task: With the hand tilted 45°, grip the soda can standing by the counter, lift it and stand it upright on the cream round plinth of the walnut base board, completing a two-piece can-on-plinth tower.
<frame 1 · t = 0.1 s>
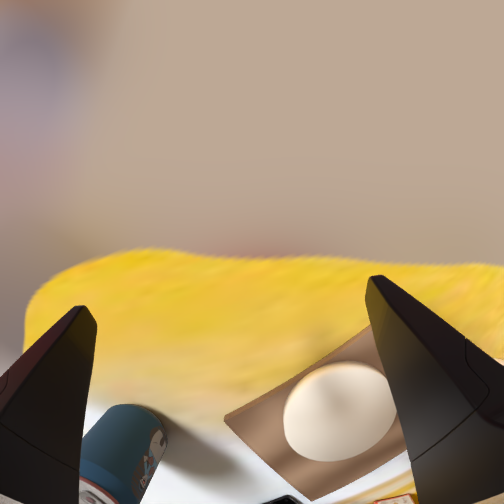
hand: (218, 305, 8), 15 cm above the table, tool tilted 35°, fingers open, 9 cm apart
soda can: (139, 424, 25), on the table
plinth board: (341, 427, 24), on the table
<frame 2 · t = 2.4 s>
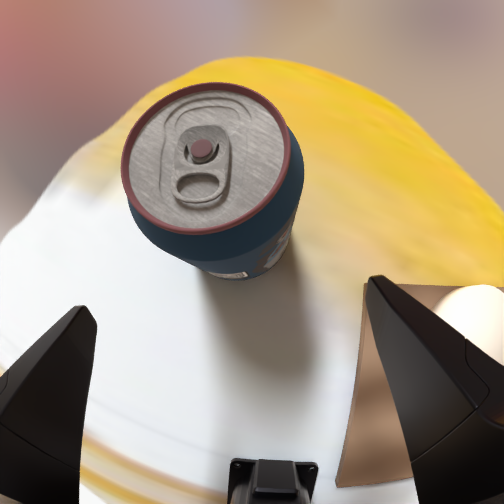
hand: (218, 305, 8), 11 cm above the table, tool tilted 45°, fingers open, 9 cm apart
soda can: (239, 232, 21), on the table
plinth board: (443, 386, 18), on the table
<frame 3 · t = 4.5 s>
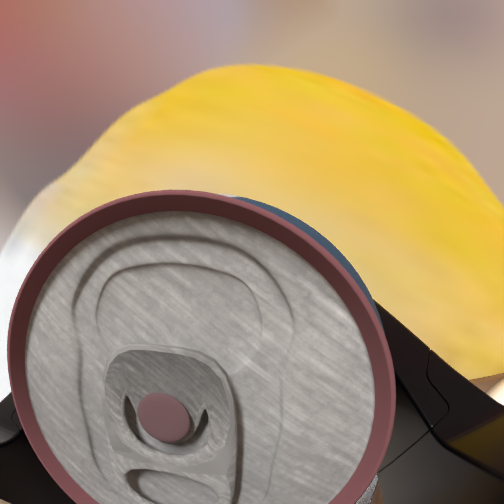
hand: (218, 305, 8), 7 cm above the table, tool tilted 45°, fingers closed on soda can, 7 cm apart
soda can: (244, 330, 15), on the table, touching gripper
plinth board: (466, 473, 12), on the table
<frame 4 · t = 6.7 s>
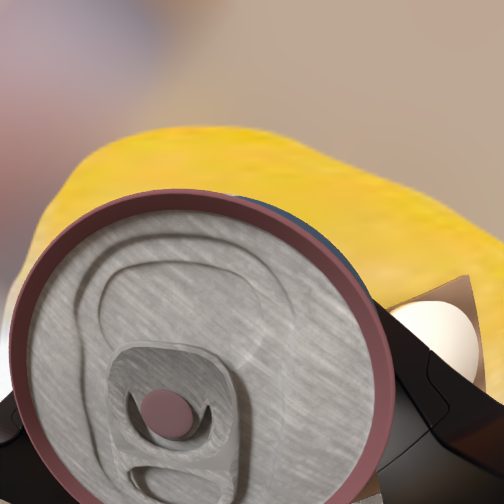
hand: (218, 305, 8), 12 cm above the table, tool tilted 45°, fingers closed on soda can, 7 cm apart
soda can: (242, 329, 15), point 5 cm above the table, touching gripper
plinth board: (404, 402, 19), on the table
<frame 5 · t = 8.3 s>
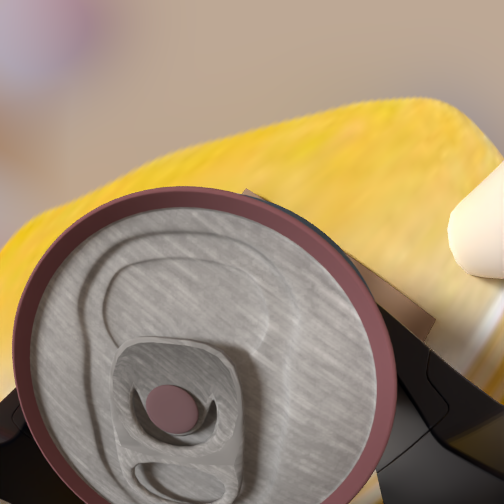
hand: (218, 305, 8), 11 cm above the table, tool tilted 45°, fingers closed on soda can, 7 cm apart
soda can: (242, 328, 15), point 4 cm above the table, touching gripper
foam cup: (474, 238, 19), on the table
plinth board: (277, 358, 18), on the table
when the fingers open (11 cm above the table, at t = 8.9 s): soda can drops 1 cm, resting on plinth board.
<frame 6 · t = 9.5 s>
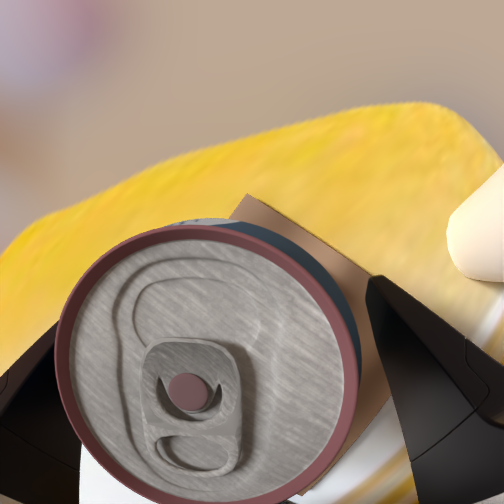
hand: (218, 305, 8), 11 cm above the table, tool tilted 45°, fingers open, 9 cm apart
soda can: (244, 329, 16), point 3 cm above the table, touching plinth board
foam cup: (473, 242, 19), on the table
plinth board: (278, 361, 19), on the table
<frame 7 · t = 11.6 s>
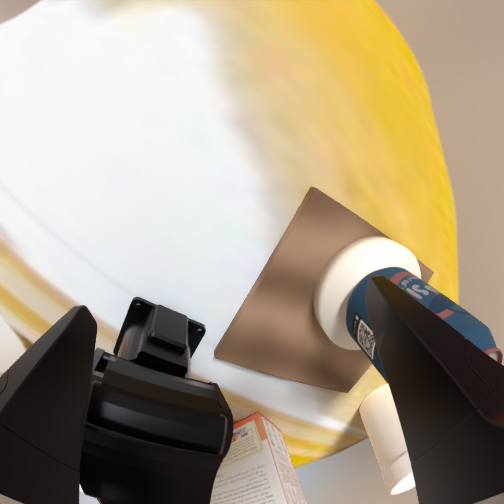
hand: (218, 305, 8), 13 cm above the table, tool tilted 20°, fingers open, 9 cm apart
soda can: (374, 299, 23), point 3 cm above the table, touching plinth board
cracker box: (222, 442, 30), on the table
foam cup: (379, 399, 33), on the table
plinth board: (334, 309, 26), on the table
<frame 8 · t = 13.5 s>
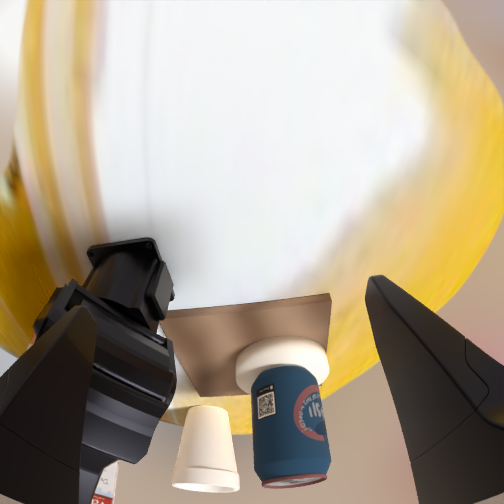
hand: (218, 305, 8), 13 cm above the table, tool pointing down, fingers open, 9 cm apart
soda can: (283, 376, 29), point 3 cm above the table, touching plinth board
cracker box: (87, 353, 32), on the table
foam cup: (207, 412, 41), on the table
plinth board: (252, 353, 31), on the table
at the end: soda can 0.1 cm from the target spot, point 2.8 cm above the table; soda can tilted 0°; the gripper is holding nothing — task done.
